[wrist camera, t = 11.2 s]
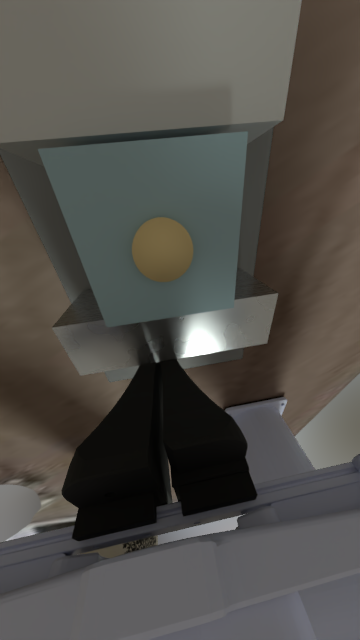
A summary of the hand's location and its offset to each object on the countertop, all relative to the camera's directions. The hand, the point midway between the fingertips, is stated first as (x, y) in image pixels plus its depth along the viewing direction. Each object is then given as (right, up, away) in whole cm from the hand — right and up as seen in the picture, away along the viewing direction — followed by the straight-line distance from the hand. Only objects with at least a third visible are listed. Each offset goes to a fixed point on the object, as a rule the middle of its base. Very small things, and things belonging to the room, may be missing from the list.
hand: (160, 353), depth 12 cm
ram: (0, +4, 0) cm, 4 cm away
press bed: (0, +6, 0) cm, 6 cm away
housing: (0, +7, -2) cm, 7 cm away
